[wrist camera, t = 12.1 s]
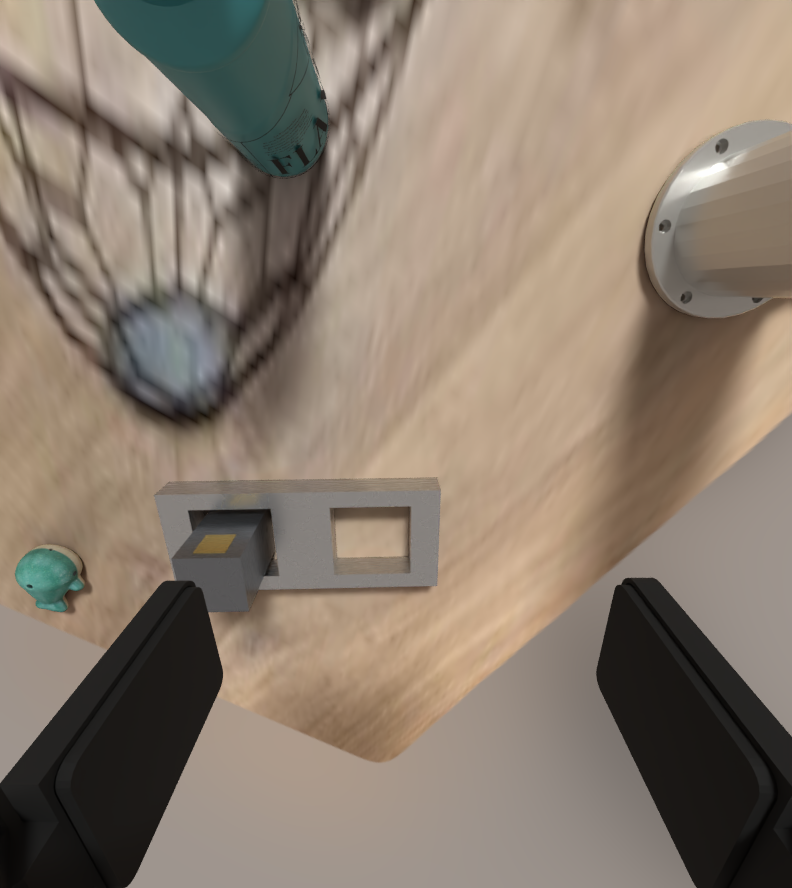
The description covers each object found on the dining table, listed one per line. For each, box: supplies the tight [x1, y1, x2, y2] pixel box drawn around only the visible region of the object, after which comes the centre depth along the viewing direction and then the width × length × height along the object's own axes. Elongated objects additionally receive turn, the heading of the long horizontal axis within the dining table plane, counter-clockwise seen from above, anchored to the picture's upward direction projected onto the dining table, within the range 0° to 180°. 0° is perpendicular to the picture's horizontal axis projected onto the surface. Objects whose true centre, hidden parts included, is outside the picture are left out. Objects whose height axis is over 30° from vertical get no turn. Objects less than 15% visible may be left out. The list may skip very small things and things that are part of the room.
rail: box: [154, 478, 441, 590], centre depth 37 cm, size 24×10×2 cm, turn 90°
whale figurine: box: [15, 544, 85, 612], centre depth 37 cm, size 6×7×4 cm
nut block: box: [171, 509, 275, 612], centre depth 34 cm, size 5×5×8 cm
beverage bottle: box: [94, 0, 330, 178], centre depth 18 cm, size 6×7×20 cm
